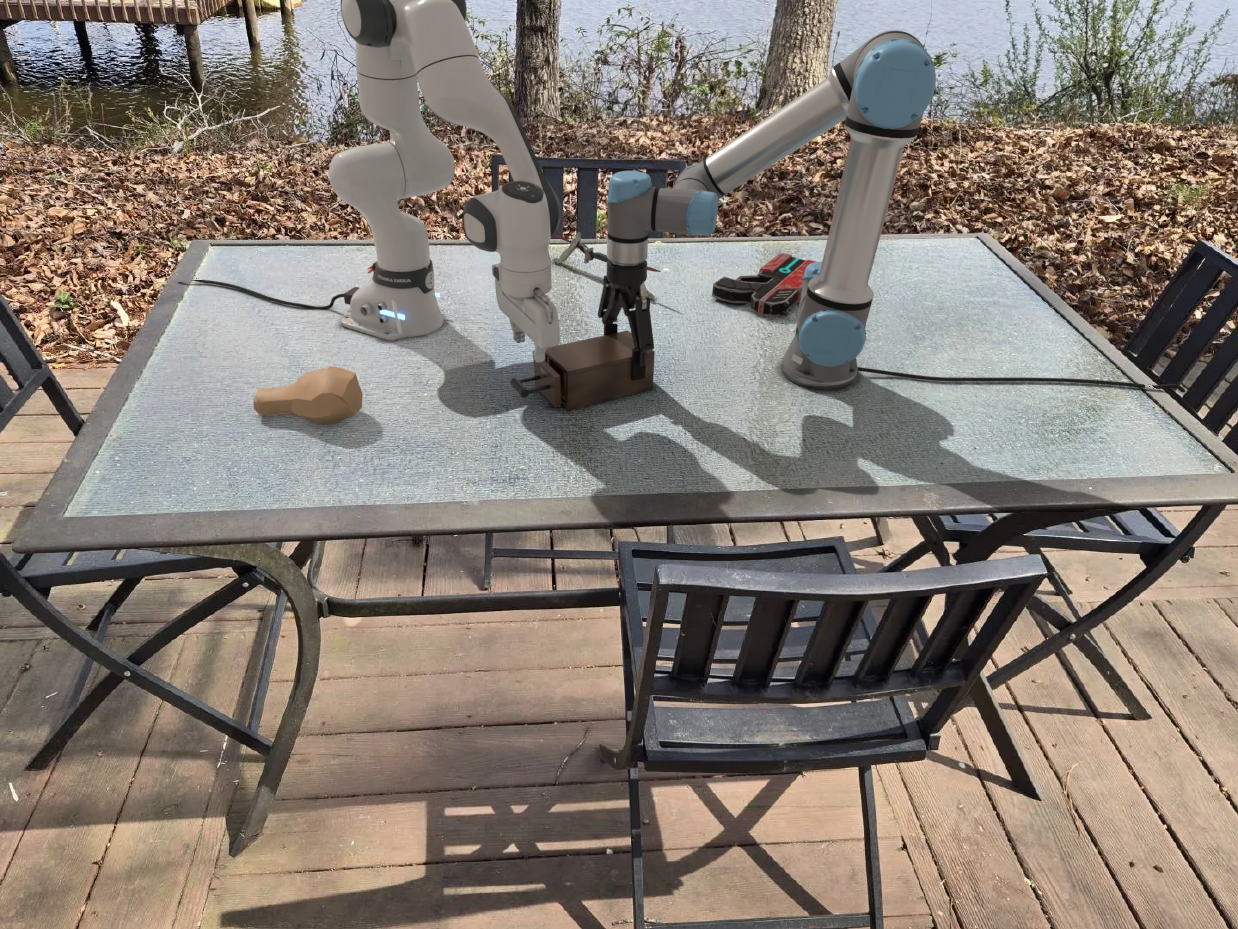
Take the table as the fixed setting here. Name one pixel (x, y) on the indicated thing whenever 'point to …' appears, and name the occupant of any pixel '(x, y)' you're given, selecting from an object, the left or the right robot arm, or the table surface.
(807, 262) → the gun
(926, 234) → the table surface
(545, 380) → the drawer
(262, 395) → the squash
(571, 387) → the cabinet
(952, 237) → the table surface
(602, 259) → the bow
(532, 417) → the table surface
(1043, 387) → the table surface
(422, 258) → the left robot arm
